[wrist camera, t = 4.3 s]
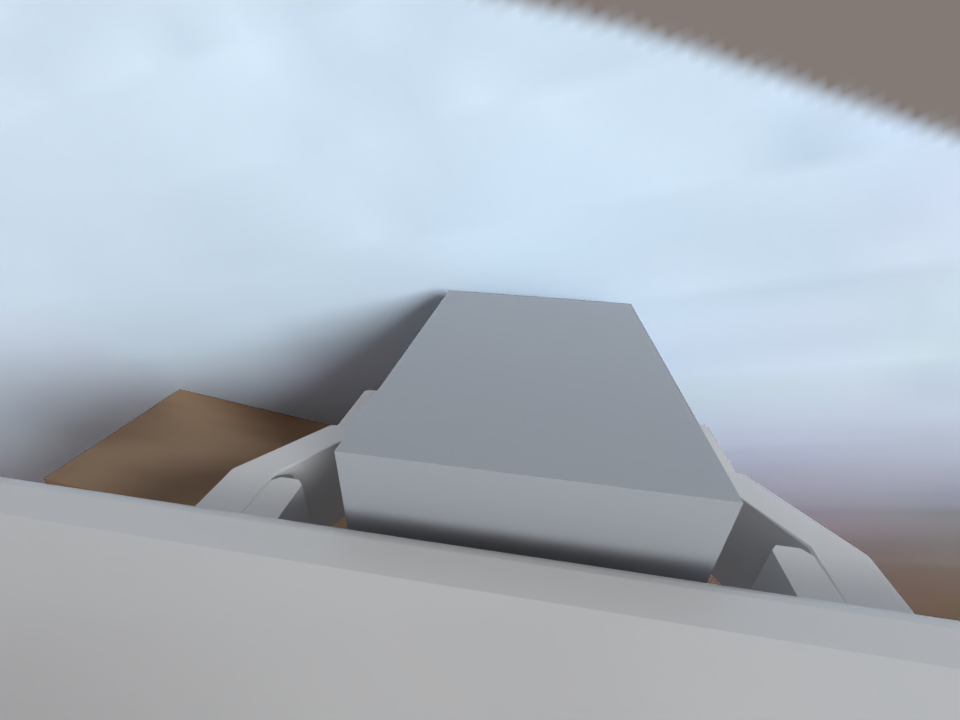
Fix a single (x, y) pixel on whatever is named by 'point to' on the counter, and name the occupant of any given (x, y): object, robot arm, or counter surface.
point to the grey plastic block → (539, 441)
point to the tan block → (182, 449)
